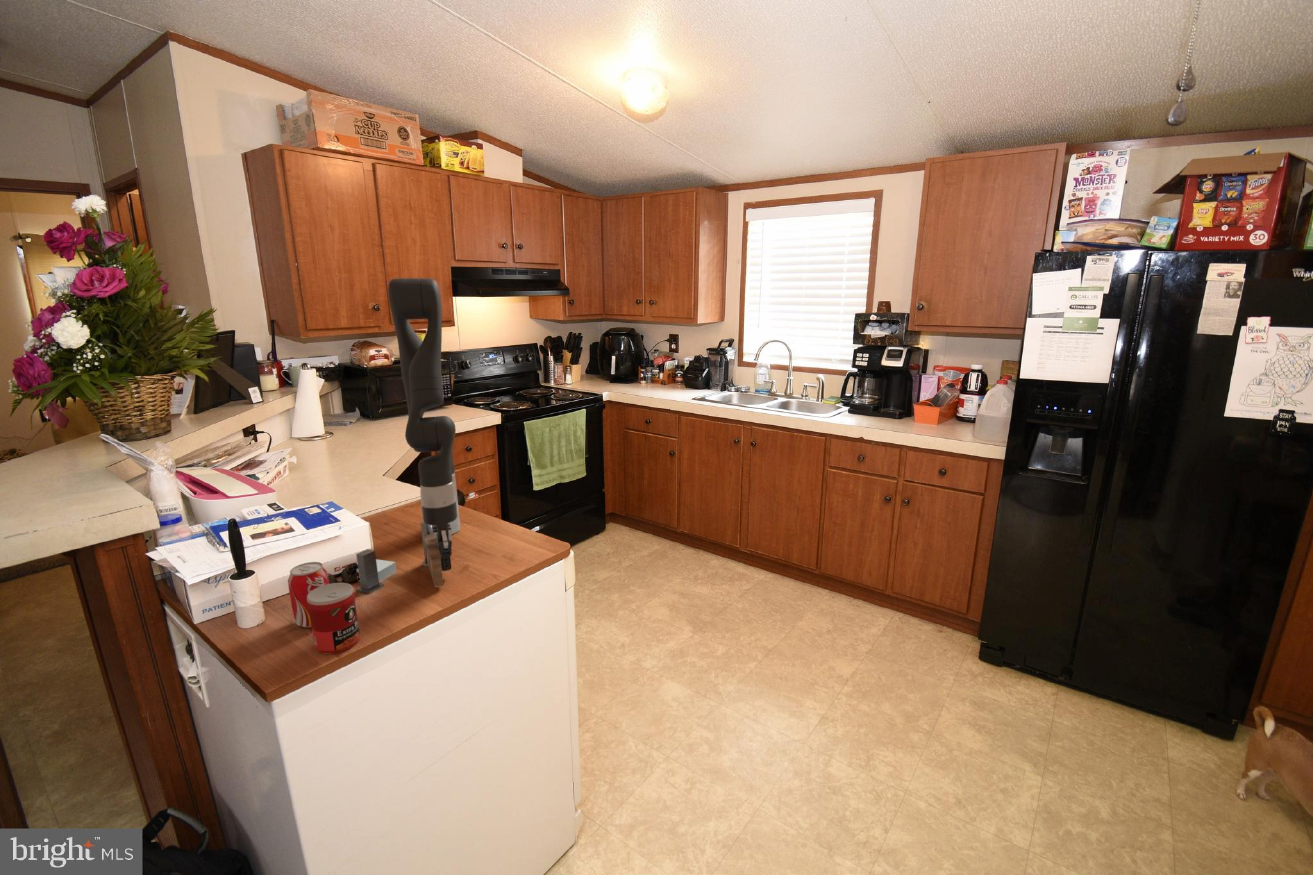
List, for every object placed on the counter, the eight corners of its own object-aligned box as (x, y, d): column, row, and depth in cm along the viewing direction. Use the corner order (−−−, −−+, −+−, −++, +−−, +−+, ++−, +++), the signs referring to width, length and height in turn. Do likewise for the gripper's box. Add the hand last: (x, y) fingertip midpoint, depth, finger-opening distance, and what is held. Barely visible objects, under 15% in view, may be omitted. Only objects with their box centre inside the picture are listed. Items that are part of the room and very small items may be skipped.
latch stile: (356, 590, 130) (351, 554, 128) (373, 582, 134) (368, 547, 132) (367, 594, 128) (362, 557, 126) (384, 585, 132) (379, 550, 130)
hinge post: (418, 565, 143) (414, 524, 140) (431, 558, 146) (427, 518, 144) (430, 568, 141) (425, 526, 139) (442, 561, 144) (438, 521, 142)
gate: (426, 563, 141) (423, 535, 140) (436, 561, 142) (433, 534, 141) (434, 587, 129) (431, 557, 127) (444, 585, 130) (441, 555, 128)
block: (358, 581, 135) (356, 569, 135) (377, 570, 141) (375, 559, 140) (378, 584, 134) (376, 572, 133) (396, 573, 139) (395, 562, 139)
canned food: (341, 657, 105) (333, 603, 103) (304, 652, 107) (295, 599, 104) (369, 634, 113) (362, 584, 110) (334, 630, 114) (327, 580, 112)
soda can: (306, 634, 113) (297, 579, 110) (288, 624, 117) (278, 570, 114) (341, 617, 119) (333, 565, 116) (323, 608, 122) (314, 557, 120)
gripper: (459, 506, 128) (467, 576, 132) (451, 490, 139) (458, 555, 143) (424, 512, 124) (432, 584, 129) (418, 495, 136) (426, 561, 140)
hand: (446, 569), depth 136 cm, fingers closed
